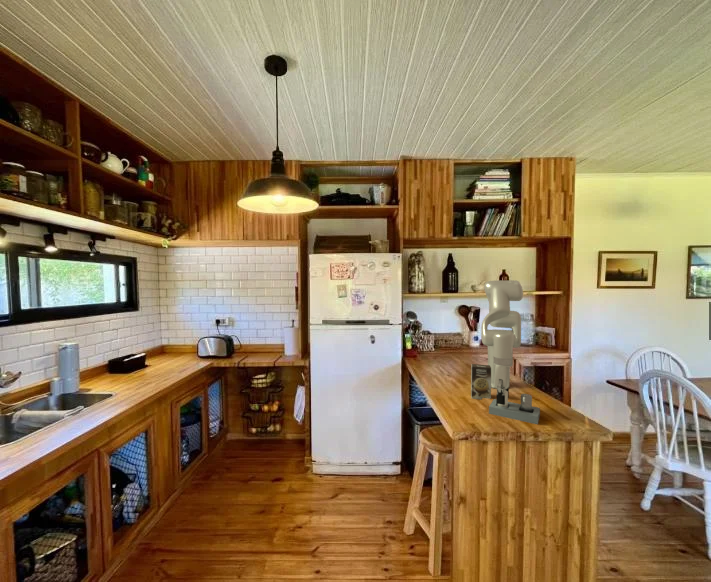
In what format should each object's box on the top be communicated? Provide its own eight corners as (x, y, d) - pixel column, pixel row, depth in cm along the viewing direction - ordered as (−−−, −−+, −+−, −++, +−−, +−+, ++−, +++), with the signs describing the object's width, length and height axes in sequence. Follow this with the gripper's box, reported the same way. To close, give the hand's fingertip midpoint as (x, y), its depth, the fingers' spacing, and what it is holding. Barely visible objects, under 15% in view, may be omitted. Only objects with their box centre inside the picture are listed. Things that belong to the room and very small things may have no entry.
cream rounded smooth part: (498, 409, 134) (498, 388, 134) (508, 411, 132) (508, 390, 132) (496, 412, 131) (496, 391, 131) (507, 414, 129) (507, 393, 129)
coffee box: (471, 398, 150) (471, 366, 150) (470, 394, 156) (470, 363, 156) (491, 400, 147) (491, 367, 147) (490, 396, 153) (490, 364, 153)
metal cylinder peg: (521, 414, 129) (521, 393, 129) (532, 416, 127) (532, 394, 127) (520, 417, 126) (520, 395, 126) (531, 419, 123) (531, 397, 123)
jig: (494, 407, 138) (494, 398, 138) (539, 417, 128) (539, 407, 128) (488, 415, 129) (488, 406, 129) (537, 426, 119) (537, 416, 119)
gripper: (497, 356, 140) (497, 393, 141) (489, 364, 126) (489, 404, 126) (515, 358, 136) (515, 396, 136) (509, 366, 122) (509, 408, 122)
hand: (502, 400), depth 131 cm, fingers open, 9 cm apart
